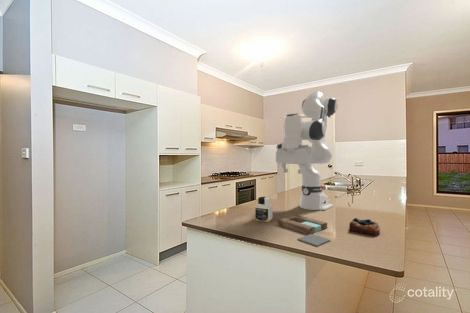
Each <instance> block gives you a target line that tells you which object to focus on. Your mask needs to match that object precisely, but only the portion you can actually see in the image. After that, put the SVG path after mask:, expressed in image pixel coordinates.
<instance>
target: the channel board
mask: <svg viewBox="0 0 470 313" xmlns="http://www.w3.org/2000/svg"><path fill="white" fill-rule="evenodd" d="M306 221H307V222H311V223H315V224H318V225H321V231H322V230H326V229H328V222H326V221H323V220H318V219H314V218H310V217H305V216H304V215H298V214H294V215H290V216H288V217H283V218H279V219H277V224H278V226H281V227H284V228H287V229H291V230H293V231H294V230H295V231H297V232H301V233H304V234H306V235H309V234H314V233H316V232H315V227H313V226H310V225H306V224H302V223H303V222H306Z"/></svg>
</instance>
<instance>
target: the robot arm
mask: <svg viewBox="0 0 470 313" xmlns="http://www.w3.org/2000/svg"><path fill="white" fill-rule="evenodd" d="M338 106H339V104H338V100H337V99H336V98H334V97H325V95H324V94H323V92H320V91H319V90H317V91H313V92H311V93H310V94H309V95H307V97H306V98H305V99H303V101H302V104H301V111H302V113H303V115H304V116H305V117H306V118H309V119H311V120H308V121H307V120H306V121H302V120H303V119H302V115H301V114H300V113H297V112H296V113H289V114H286V115H285V117H284V124H283V133H284V139H283V141H282V142H281V143H279V144H276V146H275V148H276V151H275V162H276V164H281V167H282V170H283V171H282V172H283V173H284V174H285V173H288V168H287V164H289V165H291V164H292V165H297V166H298V167H299V169H298V170H297V174H301V181H302V182H301V183H302V185H301V193H300V199H299V200H300V201H299V202H300V203H298V205H299V208H301V209H303V210H308V211H326V210H328V209H330V208H333V204H332V203H330V199H329V197H328V196H327V195H326V194H325V193H324V192H323V190H325V187H326V186H324V185H321V174H320V172H319V171H318V170H316V169H315V168H314V166H313V165H324V164H325V165H326V164H328V163H330V162H331V160H332V157H333V154H332V150H331V149H330V147H328V146H327V145H326V143H325V137H326V132H327V127H328V118H331V116H333V115H334V114H335V113H336V112H337V110H338ZM303 141H308V143H310V144H312V145H311V146H309V145H308V144H303Z"/></svg>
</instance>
